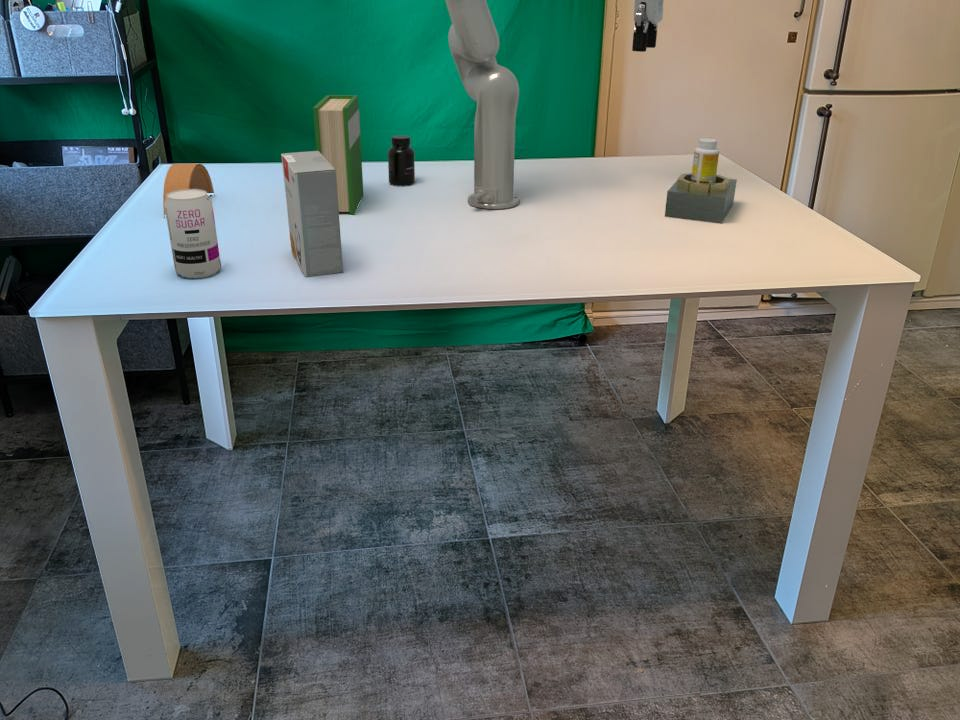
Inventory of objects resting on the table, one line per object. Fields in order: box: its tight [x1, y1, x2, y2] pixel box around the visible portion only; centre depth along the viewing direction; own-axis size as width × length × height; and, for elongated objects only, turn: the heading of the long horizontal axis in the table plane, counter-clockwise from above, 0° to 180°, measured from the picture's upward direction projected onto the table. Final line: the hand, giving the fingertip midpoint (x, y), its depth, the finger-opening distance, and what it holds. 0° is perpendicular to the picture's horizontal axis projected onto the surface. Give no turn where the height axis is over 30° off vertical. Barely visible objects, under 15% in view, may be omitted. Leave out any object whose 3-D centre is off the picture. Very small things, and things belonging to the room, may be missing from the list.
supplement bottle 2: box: [691, 137, 720, 184], centre depth 190 cm, size 6×6×10 cm
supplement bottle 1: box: [387, 134, 416, 187], centre depth 212 cm, size 7×7×12 cm
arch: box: [162, 163, 215, 215], centre depth 192 cm, size 6×20×10 cm, turn 0°
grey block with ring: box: [664, 172, 738, 225], centre depth 195 cm, size 22×13×8 cm, turn 157°
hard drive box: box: [280, 150, 344, 278], centre depth 156 cm, size 16×8×20 cm, turn 21°
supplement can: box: [164, 189, 222, 280], centre depth 151 cm, size 8×8×15 cm
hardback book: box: [312, 94, 364, 216], centre depth 191 cm, size 18×7×24 cm, turn 0°
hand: (643, 49), depth 194 cm, fingers open, 9 cm apart
